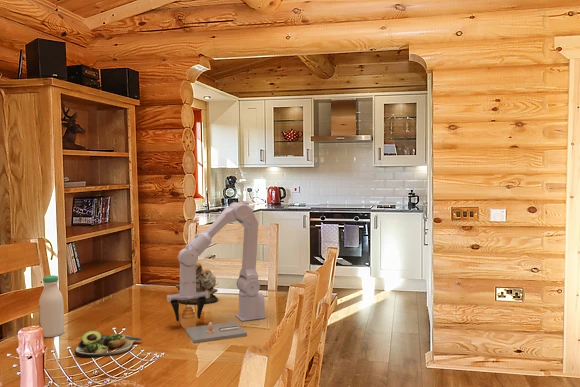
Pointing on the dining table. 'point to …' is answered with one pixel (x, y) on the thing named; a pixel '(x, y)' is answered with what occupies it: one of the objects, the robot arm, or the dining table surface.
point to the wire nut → (188, 318)
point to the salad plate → (103, 344)
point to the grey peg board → (215, 332)
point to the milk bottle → (51, 308)
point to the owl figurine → (203, 285)
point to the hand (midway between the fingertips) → (188, 319)
